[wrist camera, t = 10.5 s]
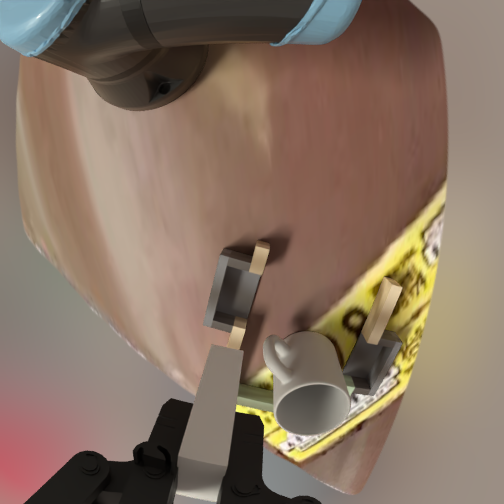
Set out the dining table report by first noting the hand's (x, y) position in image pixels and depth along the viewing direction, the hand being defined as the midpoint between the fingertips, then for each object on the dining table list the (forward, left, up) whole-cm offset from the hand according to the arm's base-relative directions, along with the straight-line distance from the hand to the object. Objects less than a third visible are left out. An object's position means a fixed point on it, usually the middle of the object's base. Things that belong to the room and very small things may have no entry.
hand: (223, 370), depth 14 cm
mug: (+12, +9, -24) cm, 28 cm away
